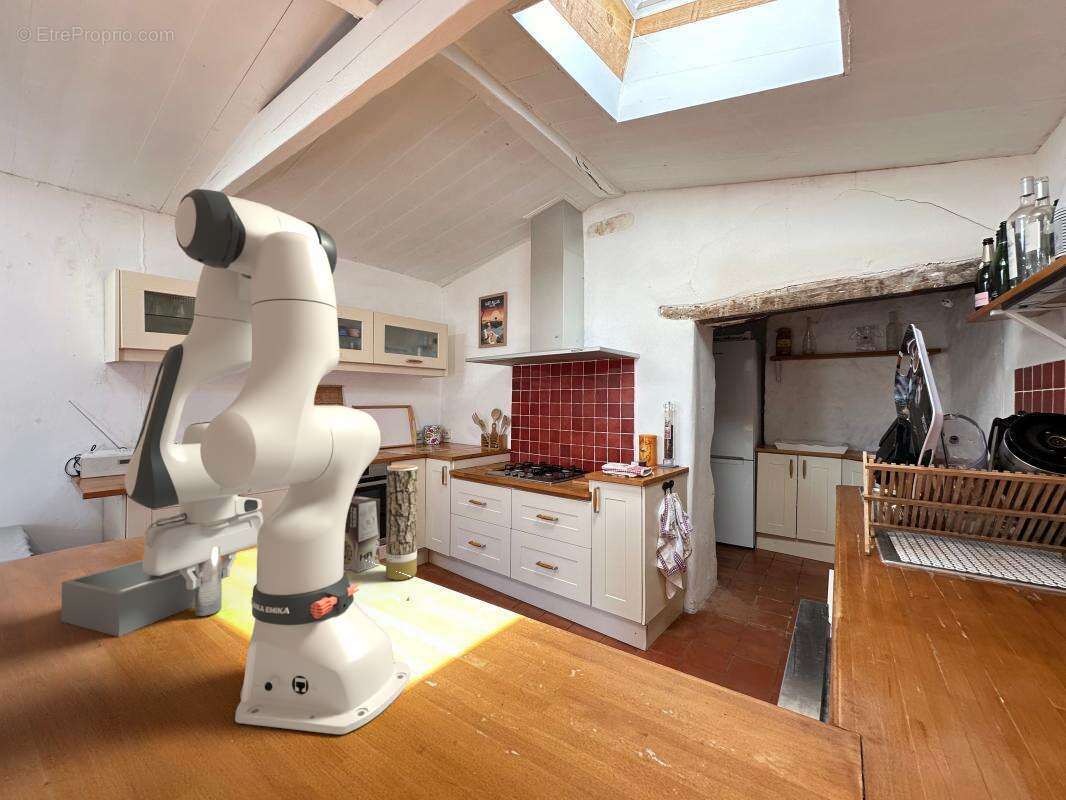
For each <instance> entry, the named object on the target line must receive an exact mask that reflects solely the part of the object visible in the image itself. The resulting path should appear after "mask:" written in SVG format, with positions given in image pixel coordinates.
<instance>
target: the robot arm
mask: <svg viewBox="0 0 1066 800" xmlns="http://www.w3.org/2000/svg"><path fill="white" fill-rule="evenodd" d="M174 230H175V235H176V240H177V244H178V246H179V247H180V248H181V250H182V251H183V252H184V253H185V255H186V256H187V257H189V258H190V259H192V260H194V261H196V262H198V263H200V264H203V267H202V269H201V273H200V275H199V280H198V284H197V288H196V292H195V293H196V294H195V301H194V310H193V311H194V313H193V314H194V315H193V319H192V320H193V321H192V325H191V328H190V330H189V332H188V333H187V335H186V337H185V338H184V339H183V340H182V341H181V342H180V343H179V344H176V345H172V346H170V347H169V348H167V349H168V350H167V351H166V352H165V354H164V356H163V357H162V360H161V362H160V365H159V367H158V370H157V374H156V376H155V380H154V382H153V383H154V384H153V386H152V389H151V392H150V396H149V400H148V404H147V407H146V411H145V414H144V419H143V422H142V425H141V429H140V433H139V436H138V439H137V441H136V445H135V447H134V450H133V452H132V455H131V458H130V460H129V462H128V465H127V468H126V470H125V473H124V487H125V491H126V494H127V497H128V498H129V499H130V500H132V501H133V502H135V503H137V504H138V505H140V506H142V507H145V508H146V509H147V508H148V509H150V510H157V509H162V508H168V507H172V506H177V505H179V514H175V515H172V516H169V517H162V518H158V519H156V520H155V521H154V522H153V523H151V524H150V525H149V526H148V527H147V528H146V529H145V533H144V534H145V535H144V536H145V537H144V541H145V546H144V549H143V555H142V556H143V557H142V559H143V564H142V569H143V571H144V572H146V573H147V574H150V575H155V576H160V575H164V574H167V573H170V572H173V571H176V570H179V572H180V573H181V574H182V576H183V577H184V578H185V579H186V588H187V589H189V590H193V589H196V588H198V587H201V583H200V582H201V577H195V575H194V574H193V572H192V571H194V570H195V564H198V563H202V562H205V561H208V560H210V559H211V556H212V548H215V547H218V546H220V555H221V556H222V558H224V560H223V562H222V580H223V579H226V578H228V577H230V576H231V567H232V566H233V563H234V562H235V560H236V558H237V552H240V551H242V550H245V549H248V548H251V547H255V546H256V583H255V585H253V587H252V596H251V601H250V602H251V614H252V617H253V618H254V625H253V630H252V634H251V637H250V640H249V645H248V646H247V647H248V648H247V655H246V661H245V662H246V663H245V669H244V671H245V672H244V676H243V677H244V679H243V684H242V687H241V690H240V695H239V696H240V702H239V703H238V705H237V708H236V710H235V714H234V715H235V717H234V722H235V723H238V724H245V725H253V726H263V727H269V728H279V729H280V728H281V729H288V730H296V731H297V730H298V731H305V732H315V733H320V734H321V733H323V734H332V735H346V734H348V733H350V732H352V731H354V730H358V728H361V727H362V726H364V725H365V724H368V723H369V722H370V721H372V720H373V719H374V718H376V717H377V716H378V715H380V714H381V713H382V712H383V711H385V710H386V709H387V708H388V707H389V706H390V705H391V704H392V703H393V702H394V701H395V700H396V699H398V697H399V696H400V694H401V693H402V692H403V691H404V689H405V688H406V687H407V685H408V682H409V680H410V675H411V671H410V666H409V665H408V664H406V663H404V662H402V661H400V660H398V659H395V658H394V654H393V647H392V641H391V638H390V635H389V634H388V633H387V631H385V629H383V628H382V627H381V626H380V625H379V622H377V621H376V620H374V619H373V618H372V617H370V616H369V615H368V614H367V613H366V612H365V611H364V610H363V609H362V608H361V607H360V606H359V605H358V604H357V603H356V602H355V600H354V599H355V598H354V594H355V593H357V592H359V591H360V588H358V586H360V582H356V583H355V584H353V585H352V586H351V583H350V581H349V579H348V575H347V573H346V571H345V570H344V569H345V568H344V542H345V526H346V519H347V514H348V510H349V506H350V503H351V500H352V497H353V496H354V494H355V491H356V489H357V486H358V483H359V482H360V479H361V478H362V475H363V474H364V472H365V470H366V469H367V468H368V466H369V465H370V464H371V463H372V462H373V461H375V459H376V457H377V456H378V453H379V452H380V448H381V441H382V440H381V430H380V428H379V425H378V423H377V421H376V420H375V419H374V417H372V415H370V414H369V413H368V412H365V411H363V410H360V409H356V408H352V407H349V406H344V405H328V404H327V405H321V404H320V405H318V404H317V405H316V404H315V398H316V392H317V389H318V386H319V384H320V382H321V380H322V378H323V377H325V376H327V375H328V374H330V373H331V372H333V371H334V369H336V367H337V366H338V364H339V361H340V358H341V356H340V355H341V354H340V353H341V351H340V338H339V322H338V306H337V305H338V304H337V297H336V291H335V282H334V278H333V274H334V272H335V270H336V266H337V262H338V251H337V246H336V243H335V240H334V238H333V236H332V235H331V234H330V233H329V232H328V231H327V230H325V229H323V228H322V227H320V226H319V225H317V224H314V223H312V222H310V221H304V220H301V219H300V218H297V217H295V216H293V215H290V214H288V213H285V212H283V211H280V210H277V209H274V208H273V207H272V206H269V205H265V204H263V203H259V202H256V201H253V200H248V199H244V198H239V197H235V196H230V195H226V193H225V192H222V191H217V190H213V189H212V190H211V189H204V188H202V189H201V188H200V189H199V188H194V189H192V190H191V191H190V192H187V194H185V195H184V196H183V197H182V199H181V200H180V202H179V204H178V207H177V210H176V212H175V216H174ZM247 370H249V371H248V374H247V377H246V379H245V382H244V384H243V386H242V388H241V390H240V391H239V393H238V395H237V396H236V398H235V399H234V401H232V403H231V404H230V405H228V406H227V408H226V409H225V410H222V411H221V413H219V414H218V415H216V416H215V417H214V418H213V419H212V420H210V421H202V422H195V423H192V424H190V425H188V426H186V427H185V429H184V431H183V436H182V441H181V443H179V444H178V443H175V440H176V436H177V431H178V428H179V425H180V420H181V418H182V414H183V410H184V407H185V402H186V400H187V399H188V397H189V396H190V394H191V393H192V392H193V391H194V390H195V389H197V388H198V387H200V386H203V385H205V384H206V383H209V382H211V381H214V380H217V379H221V378H226V377H229V376H232V375H236V374H239V373H242V372H245V371H247ZM286 486H287V487H288V489H287V492H286V493H285V497H284V498H283V500H282V502H281V503H280V505H279V506H278V507H277V508H276V509H275V511H273V512H272V513H271V514H270V515H269V516H268V517H267V518H266V519H265V520H264V516H263V513H262V512H261V511H260V510H261V509H262V508H263V501H262V500H261V499H260V498H254V497H246V496H244V495H243V494H245V493H249V492H251V491H253V490H254V491H255V490H257V491H258V490H259V491H260V490H271V489H275V488H276V489H277V488H282V487H286Z"/></svg>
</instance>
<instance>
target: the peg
mask: <svg viewBox="0 0 1066 800" xmlns="http://www.w3.org/2000/svg"><path fill="white" fill-rule="evenodd" d="M195 577H201V582H200V583H201V587H198V588H196V589H195V606H194V608H195V609H194V615H195V616H199V617H200V616H202V617H204V616H208V615H212V614H215V613H218V612H220V611H221V610H222V592H223V591H222V589H223V588H222V587H223V586H222V585H223V584H222V583H223V579H222V556H221V555H220V546H218V547H215V548H212V556H211V559H210V560H208V561H205V562H202V563H198V564H196V566H195Z"/></svg>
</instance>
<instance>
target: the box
mask: <svg viewBox="0 0 1066 800" xmlns="http://www.w3.org/2000/svg"><path fill="white" fill-rule="evenodd" d="M142 564H143V558H142V559H139V560H135V561H132V562H128V563H126V564H125V563H124V564H121V565H118V566H114V567H110V568H106V569H104V570H101V571H96V572H94V573H93V572H92V573H90V574H89V573H88V574H86V575H82V576H78V577H75V578H72V579H71V578H70V579H69V580H65V581H62V582H61V611H60V612H61V617H60V618H61V619H60V621H61V622H62V623H66V624H70V625H74V626H77V627H81V628H83V629H88V630H92V631H96V632H100V633H104V634H107V635H111V636H114V637H119V638H120V637H122V636H125V635H127V634H129V633H130V634H131V632H132V633H133V632H135V631H137V630H139V628H140V629H142V628H145V627H147V626H149V624H150V625H151V624H154V622H155V623H157V622H159V620H160V621H162V620H164V619H167V618H169V617H171V616H170V615H172V616H174V615H176V614H175V613H177V612H179V613H181V612H180V611H182V610H184V611H186V610H185V609H187V610H189V609H191V608H190V607H192V608H194V607H195V589H193V590H189V589H187V588H186V579H185V578H184V577H183V576H182V574H181V573H180V572H179V570H176V571H173V572H170V573H167V574H164V575H160V576H155V575H150V574H147V573H146V572H144V571H143V569H142ZM195 566H196V564H195ZM192 572H193V574H194V575H195V570H194V571H192ZM193 606H194V607H193ZM188 608H189V609H188ZM182 612H183V611H182ZM173 614H174V615H173ZM177 614H178V613H177ZM168 616H169V617H168ZM166 617H167V618H166ZM161 619H162V620H161ZM156 621H157V622H156ZM146 625H147V626H146ZM144 626H145V627H144ZM141 627H142V628H141ZM136 629H137V630H136ZM134 630H135V631H134ZM124 634H125V635H124Z"/></svg>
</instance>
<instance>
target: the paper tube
mask: <svg viewBox="0 0 1066 800" xmlns="http://www.w3.org/2000/svg"><path fill="white" fill-rule="evenodd" d="M386 467H387V468H386V509H385V510H386V512H385V514H386V515H385V516H386V520H385V521H386V523H385V524H386V527H385V531H386V532H385V535H386V536H385V540H386V541H385V545H386V546H385V576H386V578H387V579H389V578H390V579H389V580H391V579H394V580H393V581H404V580H408V578H409V579H411V577H409V576H407V575H410V576H413V577H414V576H415V575H416V574H417V571H418V570H417V569H418V567H417V566H418V564H417V563H418V491H419V490H418V486H419V485H418V484H419V483H418V480H419V474H418V473H419V471H418V470H419V469H418V465H416V464H404V463H403V464H393V465H388V466H386ZM396 571H397V572H396ZM399 572H401V573H399ZM402 573H404V574H407V575H404V574H402Z"/></svg>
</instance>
